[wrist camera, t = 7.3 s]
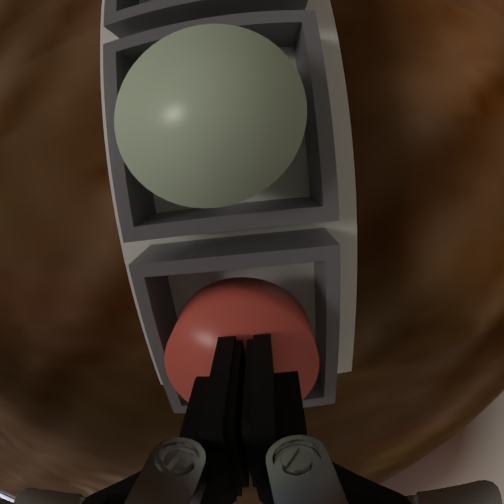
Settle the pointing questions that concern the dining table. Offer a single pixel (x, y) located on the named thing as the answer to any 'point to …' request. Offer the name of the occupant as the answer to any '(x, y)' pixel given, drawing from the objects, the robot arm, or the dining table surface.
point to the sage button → (210, 115)
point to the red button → (240, 331)
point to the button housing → (255, 208)
